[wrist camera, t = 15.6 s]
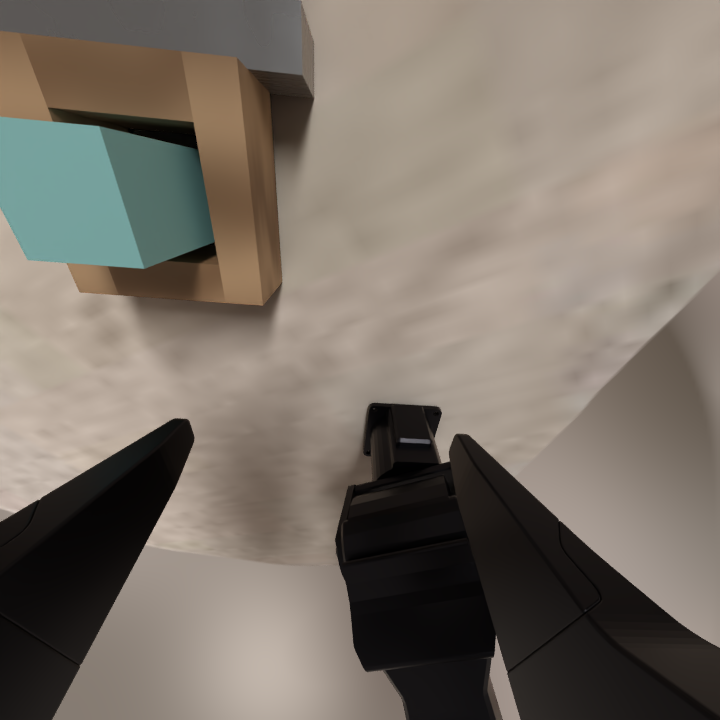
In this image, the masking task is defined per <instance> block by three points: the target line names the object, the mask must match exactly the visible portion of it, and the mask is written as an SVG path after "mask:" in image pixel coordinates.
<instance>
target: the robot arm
mask: <svg viewBox="0 0 720 720" xmlns="http://www.w3.org/2000/svg"><path fill="white" fill-rule="evenodd" d="M373 408H376V409H373ZM434 412H436V413H434ZM441 415H442V412H441V409H440V408H439V407H435V406H418V405H400V404H383V403H372V404H370V405H369V409H368V417H367V425H366V433H365V441H364V449H363V453H364V455H366V456H371V463H372V482H368V483H364V484H360V485H351V486H348V490H347V494H346V497H345V501H344V505H343V509H342V513H341V517H340V521H339V525H338V530H337V534H336V538H335V542H336V547H337V548H336V554H337V557H338V561H339V566H340V569H341V573H342V575H343V577H344V580H345V581H346V585H347V591H348V596H349V602H350V611H351V621H352V632H353V643H354V648H355V651H356V653H357V655H358V657H359V659H360V662H361V664H362V666H363V668H364V669H365V671H367V672H372V671H381V670H383V671H384V673H385V674H386V676H387V677H388V679H389V680H390V682H391V683H392V685H393V686H394V688H395V689H396V691H397V692H398V694H399V695H400V697H401V699H402V701H403V706H404V710H405V715H406V720H503V719H502V716H501V712H500V709H499V706H498V702H497V699H496V696H495V692H494V689H493V686H492V682H491V679H490V675H489V673H490V665H491V658H493V657H494V652H495V639H496V636H497V639H498V643H499V646H500V650H501V653H502V657H503V660H504V663H505V667H506V670H507V671H508V673H507V674H508V678H509V681H510V685H511V688H512V691H513V695H514V699H515V702H516V705H517V709H518V712H519V715H520V719H521V720H720V648H719V647H717V646H715V645H713V644H711V643H709V642H708V641H706V640H704V639H703V638H701V637H699V636H698V635H696V634H695V633H693V632H692V631H690V630H689V629H687V628H686V627H685V626H683V625H682V624H680V623H679V622H678V621H676V620H675V619H674V618H673V617H671V616H670V615H669V614H668V613H667V612H665V611H664V610H663V609H662V608H661V607H659V606H658V605H657V604H656V603H655V602H653V601H652V600H651V599H650V598H649V597H647V596H646V595H645V594H644V593H643V592H641V591H640V590H639V589H638V588H636V587H635V586H634V585H633V584H632V583H630V582H629V581H628V580H627V579H626V578H625V577H623V576H622V575H621V574H620V573H619V572H617V571H616V570H615V569H614V568H613V567H611V566H610V565H609V564H608V563H607V562H606V561H604V560H603V559H602V558H601V557H600V556H599V555H597V554H596V553H595V552H594V551H593V550H591V549H590V548H589V547H588V546H587V545H586V544H585V543H584V542H583V541H582V540H580V539H579V538H578V537H577V536H576V535H575V534H574V533H573V532H572V531H571V530H570V529H569V528H567V527H566V526H565V525H564V524H563V523H562V522H561V521H559V520H558V518H557V517H556V516H555V515H553V514H552V513H551V512H550V511H549V510H548V509H547V508H546V507H545V506H544V505H543V504H542V503H541V502H540V501H539V500H537V499H536V498H535V497H534V496H533V495H532V494H531V493H530V492H529V491H528V490H527V489H526V488H525V487H524V486H523V485H522V484H520V483H519V482H518V481H517V480H516V479H515V478H514V477H513V476H512V475H511V474H510V473H509V472H508V471H507V470H506V469H504V468H503V467H502V466H501V465H500V464H499V463H498V462H497V461H496V460H495V459H494V458H493V457H492V456H491V455H490V454H488V453H487V452H486V451H485V450H484V449H483V448H482V447H481V446H480V445H479V444H478V443H477V442H476V441H475V440H474V439H472V438H471V437H470V436H469V435H467V434H456V435H455V436H454V439H453V441H452V444H451V447H450V450H449V458H450V462H446V463H441V459H440V456H439V453H438V450H437V446H436V443H435V440H434V437H435V434H436V431H437V428H438V424H439V421H440V418H441ZM193 443H194V434H193V431H192V428H191V425H190V422H189V420H188V419H179V418H175V419H172V420H170V421H169V422H167V423H165V424H164V425H162V426H160V427H159V428H157V429H155V430H154V431H152V432H150V433H149V434H147V435H145V436H144V437H142V438H140V439H139V440H137V441H135V442H134V443H132V444H130V445H129V446H127V447H125V448H124V449H122V450H120V451H119V452H117V453H115V454H114V455H112V456H110V457H109V458H107V459H105V460H104V461H102V462H100V463H99V464H97V465H95V466H94V467H92V468H90V469H89V470H87V471H85V472H84V473H82V474H80V475H79V476H77V477H75V478H74V479H72V480H70V481H69V482H67V483H65V484H64V485H62V486H60V487H59V488H57V489H55V490H54V491H52V492H50V493H49V494H47V495H45V496H43V497H42V498H41V499H40V500H37V501H35V502H33V503H32V504H30V505H28V506H27V507H25V508H23V509H22V510H20V511H18V512H17V513H15V514H13V515H11V516H10V517H8V518H7V519H5V520H3V521H1V522H0V720H52V719H53V717H54V715H55V713H56V711H57V709H58V708H59V706H60V704H61V702H62V700H63V698H64V696H65V694H66V693H67V690H68V689H69V687H70V685H71V683H72V681H73V679H74V678H75V676H76V674H77V672H78V670H79V668H80V666H79V665H81V664H82V662H83V660H84V658H85V656H86V654H87V653H88V651H89V649H90V647H91V645H92V643H93V641H94V640H95V638H96V636H97V634H98V632H99V630H100V628H101V626H102V624H103V623H104V621H105V619H106V617H107V615H108V613H109V611H110V609H111V607H112V606H113V604H114V602H115V600H116V598H117V596H118V594H119V593H120V590H121V589H122V587H123V585H124V583H125V581H126V579H127V578H128V576H129V574H130V572H131V570H132V568H133V566H134V564H135V563H136V561H137V559H138V557H139V555H140V553H141V551H142V549H143V548H144V546H145V544H146V542H147V540H148V538H149V536H150V534H151V533H152V531H153V529H154V527H155V525H156V523H157V521H158V519H159V518H160V516H161V514H162V512H163V510H164V508H165V506H166V504H167V502H168V501H169V499H170V497H171V495H172V493H173V491H174V489H175V487H176V485H177V483H178V480H179V478H180V475H181V473H182V470H183V468H184V466H185V463H186V461H187V458H188V456H189V453H190V451H191V448H192V446H193Z"/></svg>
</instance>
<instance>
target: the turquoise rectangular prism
mask: <svg viewBox="0 0 720 720" xmlns="http://www.w3.org/2000/svg"><path fill="white" fill-rule="evenodd" d="M0 208H1V210H2V211H3V213H4V215H5V217H6V219H7V221H8V223H9V225H10V227H11V229H12V231H13V233H14V235H15V236H16V238H17V240H18V242H19V244H20V246H21V248H22V250H23V252H24V254H25V256H26V258H27V259H28V260H34V261H47V262H61V263H74V264H87V265H101V266H114V267H127V268H141V269H145V268H148V267H150V266H153V265H156V264H158V263H161V262H163V261H166V260H169V259H171V258H174V257H177V256H179V255H182V254H185V253H187V252H190V251H193V250H195V249H198V248H200V247H203V246H206V245H208V244H211V243H214V242H215V240H214V234H213V229H212V223H211V217H210V212H209V206H208V201H207V195H206V189H205V184H204V178H203V172H202V167H201V161H200V156H199V150H198V149H193V148H189V147H185V146H181V145H177V144H172V143H168V142H164V141H160V140H155V139H151V138H147V137H143V136H138V135H134V134H130V133H126V132H122V131H117V130H113V129H109V128H105V127H100V126H92V125H81V124H71V123H61V122H50V121H40V120H29V119H19V118H9V117H0Z"/></svg>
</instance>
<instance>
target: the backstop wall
mask: <svg viewBox="0 0 720 720" xmlns="http://www.w3.org/2000/svg"><path fill="white" fill-rule="evenodd" d="M0 31H6V32H15V33H24V34H33V35H42V36H51V37H60V38H69V39H77V40H86V41H95V42H104V43H113V44H122V45H131V46H140V47H149V48H158V49H167V50H176V51H185V52H194V53H203V54H212V55H220V56H229V57H237V58H238V59H239V60H240V61H241V62H242V63H243V65H244V66H245V67H246V68H247V69H248V70H249V71H250V72H251V73H252V74H253V75H254V76H255V77H256V78H257V80H258V81H259V82H260V83H261V84H262V85H263V86H264V87H265V88H266V89H267V90H268V91H269V92H270V94H278V95H287V96H297V97H306V98H314V41H313V38H312V35H311V31H310V28H309V25H308V22H307V18H306V15H305V12H304V9H303V5H302V2H301V1H300V0H0Z"/></svg>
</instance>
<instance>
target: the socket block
mask: <svg viewBox="0 0 720 720" xmlns="http://www.w3.org/2000/svg"><path fill="white" fill-rule="evenodd" d="M0 117H9V118H19V119H29V120H40V121H50V122H61V123H71V124H81V125H92V126H100V127H105V128H109V129H113V130H117V131H122V132H126V133H129V131H128V128H133V129H143V130H153V131H163V132H173V133H184V134H194V135H196V139H197V144H198V150H199V156H200V161H201V167H202V172H203V178H204V184H205V189H206V195H207V201H208V206H209V212H210V217H211V223H212V229H213V234H214V240H215V246H211V245H206V246H203V247H200V248H198V249H195V250H193V251H190V252H187V253H185V254H182V255H179V256H177V257H174V258H171V259H169V260H166V261H163V262H161V263H158V264H156V265H153V266H150V267H148V268H145V269H141V268H127V267H114V266H101V265H87V264H74V263H67V265H68V268H69V270H70V272H71V274H72V276H73V279H74V281H75V283H76V285H77V287H78V290H79V292H83V293H96V294H110V295H124V296H138V297H151V298H165V299H179V300H192V301H206V302H220V303H233V304H247V305H261V306H263V305H264V304H265V303H266V301H267V300H268V299H269V298H270V296H271V295H272V294H273V293H274V291H275V290H276V289H277V288H278V287H279V285H280V284H281V283H282V272H281V257H280V242H279V226H278V211H277V196H276V181H275V165H274V150H273V135H272V120H271V104H270V92H269V91H268V90H267V89H266V88H265V87H264V86H263V85H262V84H261V83H260V82H259V81H258V80H257V78H256V77H255V76H254V75H253V74H252V73H251V72H250V71H249V70H248V69H247V68H246V67H245V66H244V65H243V63H242V62H241V61H240V60H239V59H238V58H237V57H229V56H220V55H212V54H203V53H194V52H185V51H176V50H167V49H158V48H149V47H140V46H131V45H122V44H113V43H104V42H95V41H86V40H77V39H69V38H60V37H51V36H42V35H33V34H24V33H15V32H6V31H0Z"/></svg>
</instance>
